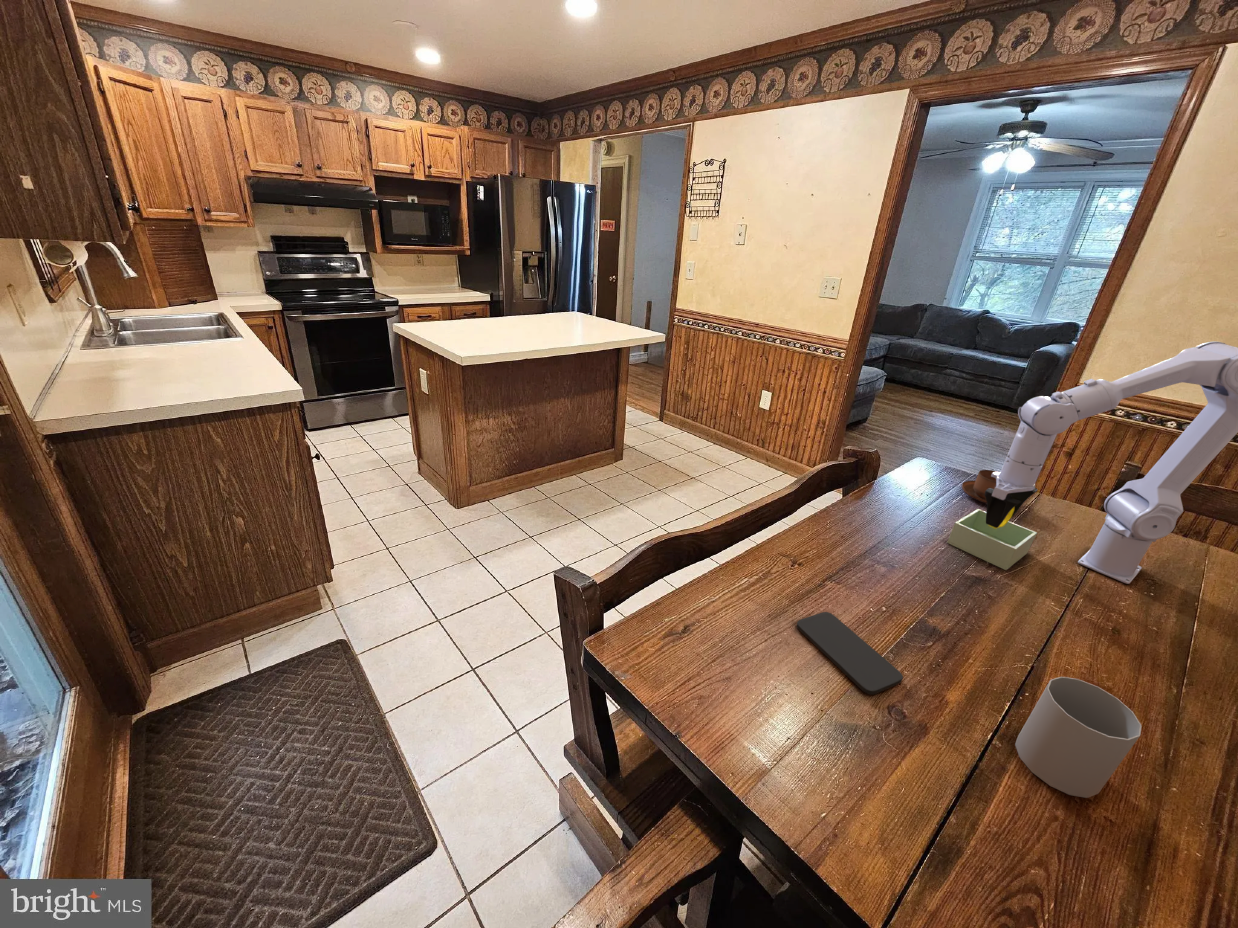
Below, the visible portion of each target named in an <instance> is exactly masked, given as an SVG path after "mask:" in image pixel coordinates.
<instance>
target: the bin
mask: <svg viewBox="0 0 1238 928" xmlns="http://www.w3.org/2000/svg"><path fill="white" fill-rule="evenodd" d="M986 513H987V511H984V510H982V509H980V508H977V509H975V510H974V511H972V512H969V514H967V515H965V516H963V517H961V518H960V519H958V520H957V521H955V522H954V523H953V527H952V528H951V531H950V533H949V537H948V539H947V541H946V543H947V544H949V545H951V546H953V547H955V548H957V549H960V550H962V551H964V552H966V553H968V554H970V555H972V556H974V557H976V558H978V559H980V560H983V561H985V562H987V563H989V564H991V565H994V566H996V567H998V568H1001V569H1002V570H1004V571H1007V570H1009V569H1010V568H1011V567H1012V566H1013V565H1014V564H1016V563H1018V561H1020V560H1021V559H1022V558H1023V557H1024V556H1026V555H1027V554H1028V553H1029V552H1030V551H1029V550H1030V549H1031V547H1032V544H1033V542H1034V540H1035V539H1036V537H1037V534H1038V532H1036V531H1034V530H1032V529H1030V528H1027V527H1024V526H1022V525H1019V524H1017V523H1015V522H1012V521H1010V520H1009V521H1008V522H1007V523H1006V524H1005V525H1004V526H1003V527H1000V528H996V529H994V528H992V527H990V526H989V525H988V524H986Z"/></svg>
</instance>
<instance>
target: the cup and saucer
mask: <svg viewBox="0 0 1238 928" xmlns="http://www.w3.org/2000/svg"><path fill="white" fill-rule="evenodd" d="M993 472H999V473H1000V472H1001V471H997V470H992V469H981V470H979V471H978V473H977V476H976V479H975V480H966V481H964V482H962V483H961V488H962V491H963V492H964V493H965V494H966V495H968V496H969V497H970V498H972V499H974V500H976V501H979V502H980V503H983V504H986V505H987V501H986V497H985V491H986V490H987V489H988V488H992V489H995V487H996V478H994V477H992V476H991V475H992V473H993Z"/></svg>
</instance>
